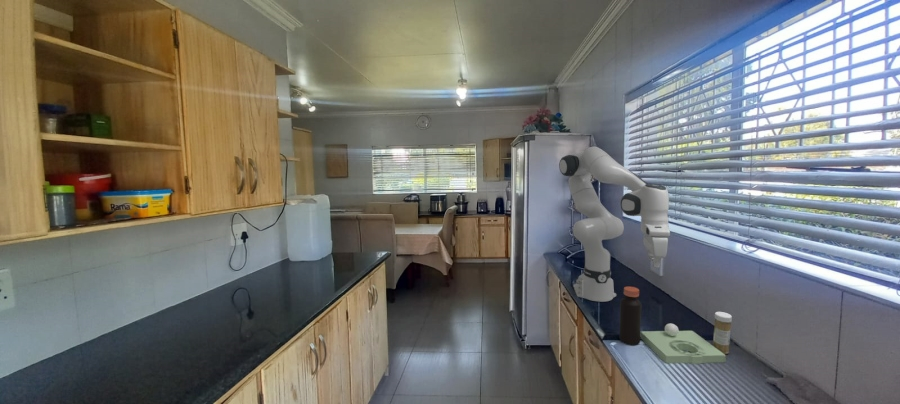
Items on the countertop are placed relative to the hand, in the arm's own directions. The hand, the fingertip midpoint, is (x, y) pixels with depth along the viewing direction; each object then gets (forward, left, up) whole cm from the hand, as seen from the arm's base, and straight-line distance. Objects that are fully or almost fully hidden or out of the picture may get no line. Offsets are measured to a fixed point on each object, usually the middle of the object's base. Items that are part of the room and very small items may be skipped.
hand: (653, 263), depth 129 cm
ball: (+8, +3, -22) cm, 24 cm away
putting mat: (+13, +3, -27) cm, 30 cm away
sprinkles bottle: (+14, +16, -27) cm, 35 cm away
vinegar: (+7, -12, -27) cm, 30 cm away
